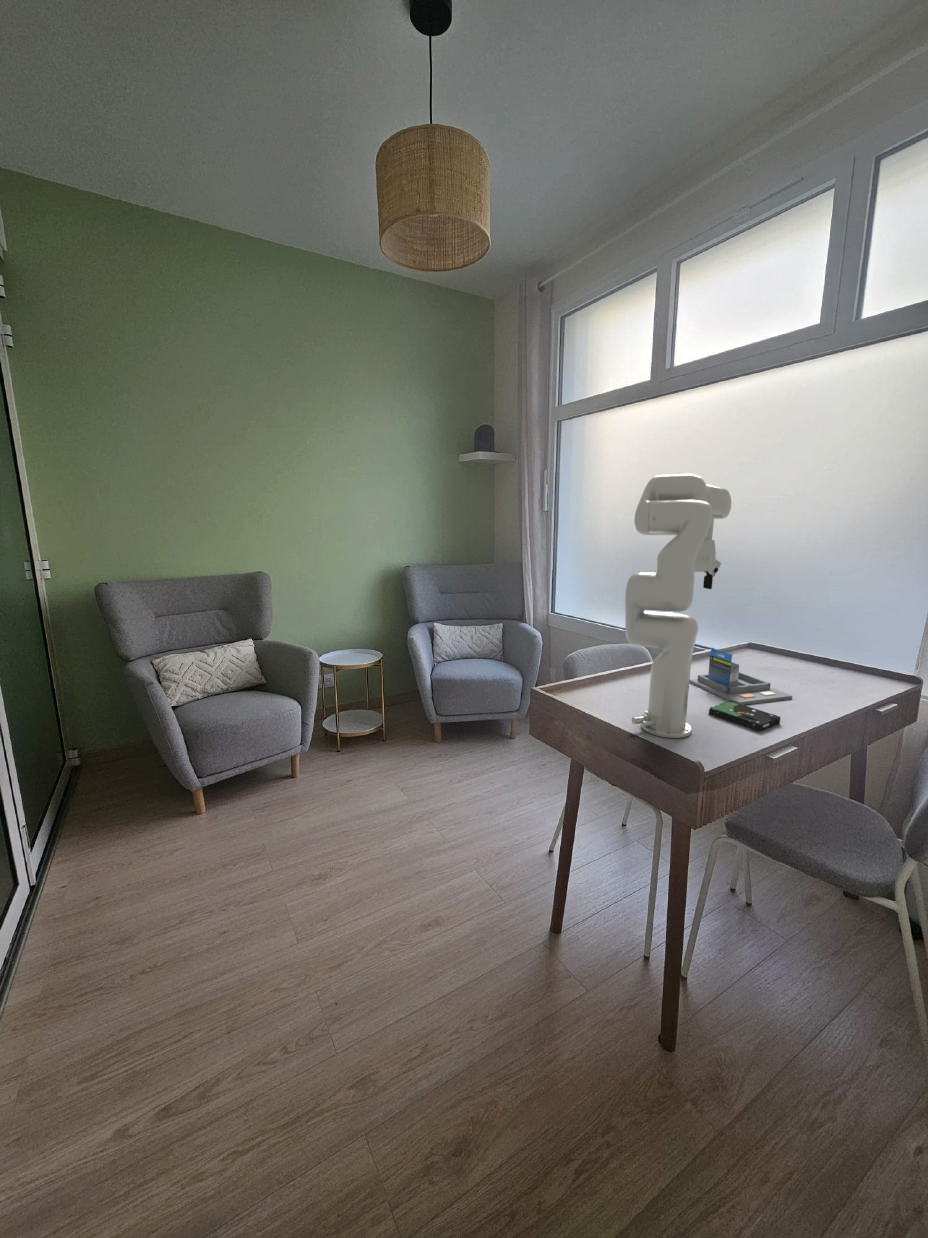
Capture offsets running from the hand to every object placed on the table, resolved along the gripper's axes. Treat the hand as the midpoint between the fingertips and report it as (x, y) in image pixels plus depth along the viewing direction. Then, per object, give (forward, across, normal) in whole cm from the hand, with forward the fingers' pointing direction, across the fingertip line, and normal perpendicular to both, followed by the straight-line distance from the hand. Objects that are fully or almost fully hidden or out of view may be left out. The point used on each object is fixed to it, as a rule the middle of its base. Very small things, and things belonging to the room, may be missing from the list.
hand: (694, 589), depth 163 cm
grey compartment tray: (+33, +14, -8) cm, 36 cm away
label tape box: (+32, +9, -5) cm, 34 cm away
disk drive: (+34, -3, -28) cm, 44 cm away
